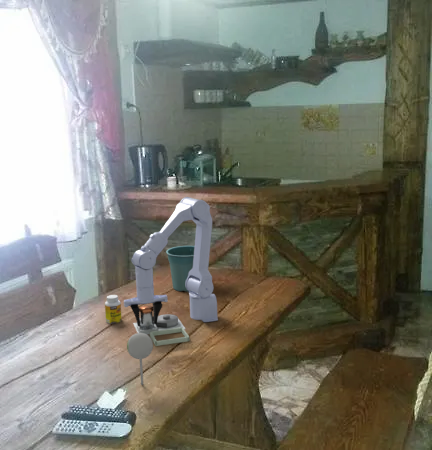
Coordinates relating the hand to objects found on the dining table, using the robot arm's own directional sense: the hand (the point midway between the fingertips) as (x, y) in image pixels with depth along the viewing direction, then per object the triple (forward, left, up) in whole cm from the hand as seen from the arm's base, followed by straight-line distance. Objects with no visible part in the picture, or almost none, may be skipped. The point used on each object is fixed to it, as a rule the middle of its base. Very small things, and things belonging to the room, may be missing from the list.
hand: (147, 324), depth 205 cm
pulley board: (-4, -2, -3) cm, 6 cm away
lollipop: (+9, +36, -4) cm, 38 cm away
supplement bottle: (+10, -14, -4) cm, 17 cm away
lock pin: (0, 0, -2) cm, 2 cm away
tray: (-5, +10, -3) cm, 11 cm away
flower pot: (-25, -44, -4) cm, 51 cm away
